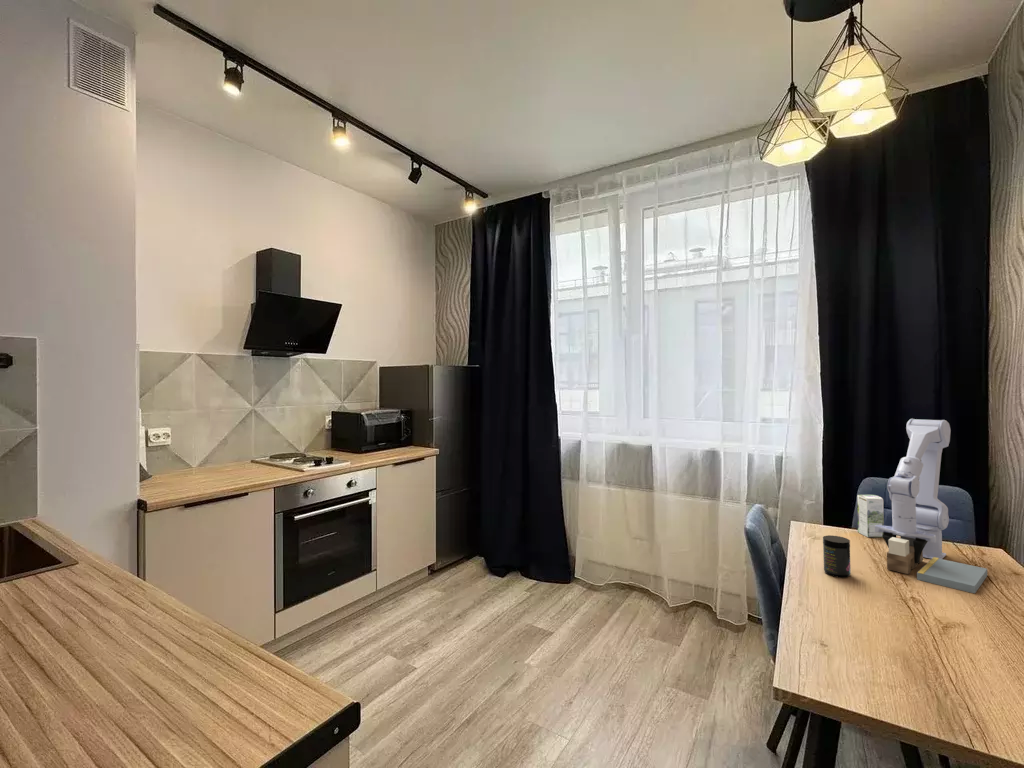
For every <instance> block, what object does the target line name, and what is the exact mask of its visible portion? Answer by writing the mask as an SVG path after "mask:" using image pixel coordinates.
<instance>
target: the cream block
mask: <svg viewBox="0 0 1024 768" xmlns="http://www.w3.org/2000/svg"><path fill="white" fill-rule="evenodd" d="M888 545H889V548H888V551H889V553H891V554H895V555H900V556H904V557H906V556H907V555H908V554H909V540H906V539H900V537H896V538H895V537H892V538H890V539H889V540H888Z"/></svg>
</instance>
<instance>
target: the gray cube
mask: <svg viewBox="0 0 1024 768" xmlns="http://www.w3.org/2000/svg"><path fill="white" fill-rule="evenodd" d="M899 538H900V539H906V540H909V546H913V547H914V544H913V541H914V540H916V539H914V538H909V537H904V536H899Z"/></svg>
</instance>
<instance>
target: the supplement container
mask: <svg viewBox="0 0 1024 768" xmlns="http://www.w3.org/2000/svg"><path fill="white" fill-rule="evenodd" d="M822 548H823V550H822V552H823V553H822V555H823V571H824V573H825V574H827V575H829V576H831V577H834V578H840V579H841V578H849V577H850V576H851V572H852V570H851V540H850V539H848V538H847V537H843V536H838V535H823V536H822Z"/></svg>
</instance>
